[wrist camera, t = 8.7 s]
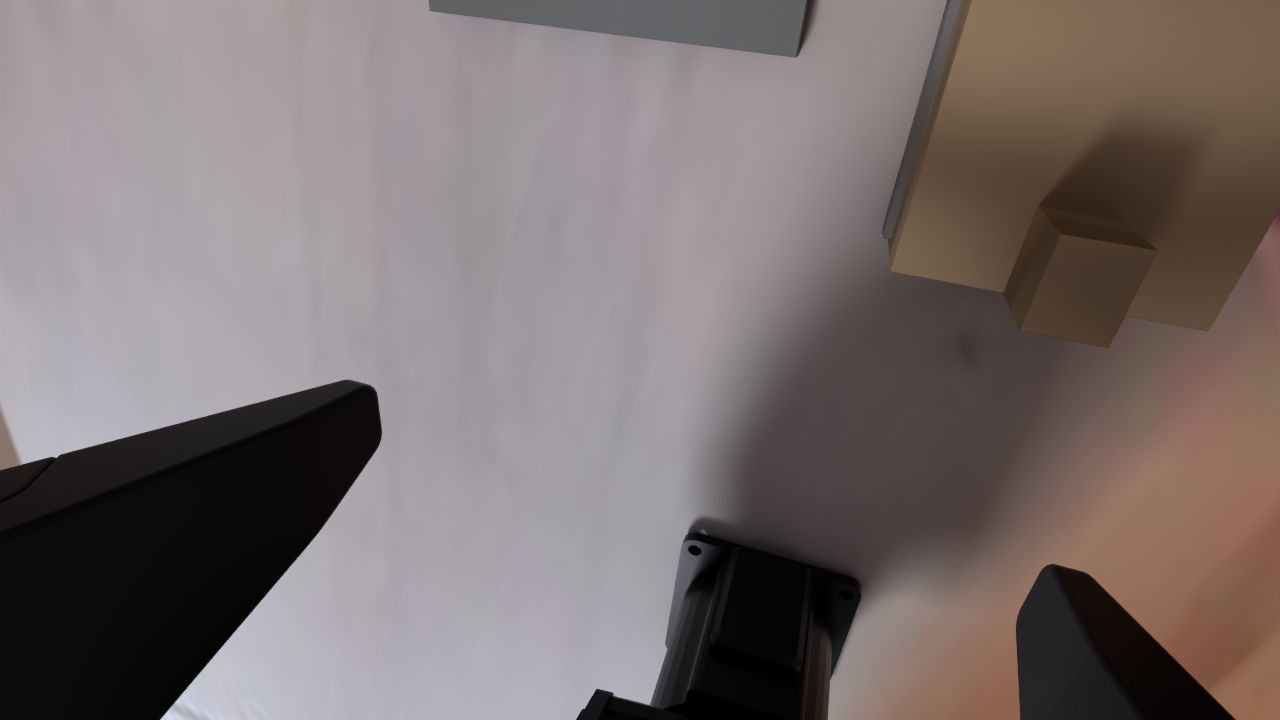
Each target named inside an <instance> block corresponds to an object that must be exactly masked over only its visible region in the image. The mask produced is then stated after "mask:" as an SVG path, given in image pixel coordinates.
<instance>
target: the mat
mask: <svg viewBox="0 0 1280 720" xmlns="http://www.w3.org/2000/svg"><path fill="white" fill-rule="evenodd" d="M808 2H809V0H429V6H430V11H434V12H442V13H450V14H457V15H465V16H473V17H481V18H489V19H497V20H505V21H512V22H520V23H528V24H536V25H544V26H552V27H560V28H568V29H575V30H583V31H591V32H599V33H607V34H615V35H623V36H631V37H638V38H646V39H654V40H662V41H670V42H678V43H686V44H693V45H701V46H709V47H717V48H725V49H733V50H741V51H749V52H756V53H764V54H772V55H780V56H788V57H797V56H798V54H799V48H800V43H801V38H802V33H803V28H804V22H805V17H806V12H807V7H808Z"/></svg>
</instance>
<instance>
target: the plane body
mask: <svg viewBox="0 0 1280 720" xmlns="http://www.w3.org/2000/svg"><path fill="white" fill-rule="evenodd" d="M1279 210H1280V0H947V4H946V7H945V11H944V14H943V18H942V21H941V25H940V28H939V32H938V35H937V39H936V42H935V46H934V49H933V53H932V56H931V60H930V63H929V67H928V70H927V74H926V77H925V81H924V84H923V88H922V91H921V95H920V99H919V102H918V106H917V109H916V113H915V116H914V120H913V123H912V127H911V130H910V134H909V137H908V141H907V144H906V148H905V151H904V155H903V158H902V162H901V165H900V169H899V172H898V176H897V179H896V183H895V186H894V190H893V193H892V197H891V200H890V204H889V207H888V211H887V214H886V218H885V221H884V225H883V228H882V230H883V238H886V239H888V243H889V258H890V271H891V272H896V273H901V274H907V275H912V276H917V277H923V278H928V279H933V280H938V281H944V282H949V283H954V284H960V285H965V286H970V287H975V288H981V289H986V290H991V291H997V292H1002V293H1004V296H1005V298H1006V300H1007V302H1008V305H1009V307H1010V309H1011V312H1012V314H1013V316H1014V318H1015V321H1016V323H1017V325H1018V327H1019V330H1020V331H1025V332H1030V333H1035V334H1040V335H1045V336H1050V337H1055V338H1060V339H1065V340H1070V341H1075V342H1080V343H1085V344H1090V345H1095V346H1100V347H1105V348H1109V346H1110V344H1111V342H1112V340H1113V338H1114V336H1115V334H1116V332H1117V330H1118V328H1119V326H1120V324H1121V322H1122V321H1123V319H1124V317H1125V316H1129V317H1134V318H1139V319H1145V320H1150V321H1155V322H1161V323H1166V324H1171V325H1177V326H1182V327H1187V328H1192V329H1198V330H1203V331H1209V329H1210V327H1211V325H1212V324H1213V322H1214V320H1215V319H1216V317H1217V315H1218V314H1219V312H1220V310H1221V308H1222V307H1223V305H1224V303H1225V302H1226V300H1227V298H1228V297H1229V295H1230V293H1231V291H1232V290H1233V288H1234V286H1235V285H1236V283H1237V281H1238V280H1239V278H1240V276H1241V274H1242V273H1243V271H1244V269H1245V268H1246V266H1247V264H1248V263H1249V261H1250V259H1251V257H1252V256H1253V254H1254V252H1255V251H1256V249H1257V247H1258V246H1259V244H1260V242H1261V241H1262V239H1263V237H1264V235H1265V234H1266V232H1267V230H1268V229H1269V227H1270V225H1271V224H1272V222H1273V220H1274V218H1275V217H1276V215H1277V213H1278V212H1279Z"/></svg>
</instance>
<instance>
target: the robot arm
mask: <svg viewBox="0 0 1280 720" xmlns="http://www.w3.org/2000/svg"><path fill="white" fill-rule="evenodd" d="M381 437H382V427H381V419H380V411H379V403H378V396H377V392H376V390H375V389H374V388H373V387H372V386H371V385H368V384H364V383H360V382H357V381H353V380H342V381H338V382H335V383H331V384H327V385H323V386H319V387H316V388H312V389H308V390H304V391H300V392H297V393H293V394H289V395H285V396H281V397H278V398H274V399H270V400H266V401H262V402H259V403H255V404H251V405H247V406H243V407H240V408H236V409H232V410H228V411H225V412H221V413H217V414H213V415H209V416H206V417H202V418H198V419H194V420H190V421H187V422H183V423H179V424H175V425H171V426H168V427H164V428H160V429H156V430H152V431H149V432H145V433H141V434H137V435H133V436H130V437H126V438H122V439H118V440H114V441H111V442H107V443H103V444H99V445H95V446H92V447H88V448H84V449H80V450H76V451H73V452H69V453H65V454H61V455H60V456H58V457H57V458H55V457H49V458H45V459H42V460H38V461H34V462H30V463H27V464H23V465H19V466H15V467H11V468H7V469H4V470H0V720H160V719H161V718H162V717H163V716H164V715H165V713H166V712H167V711H168V710H169V709H170V707H171V706H172V705H173V704H174V703H175V702H176V700H177V699H178V698H179V697H180V696H181V695H182V693H183V692H184V691H185V690H186V689H187V687H188V686H189V685H190V684H191V683H192V682H193V680H194V679H195V678H196V677H197V676H198V675H199V673H200V672H201V671H202V670H203V669H204V667H205V666H206V665H207V664H208V663H209V662H210V660H211V659H212V658H213V657H214V656H215V654H216V653H217V652H218V651H219V650H220V649H221V647H222V646H223V645H224V644H225V643H226V642H227V640H228V639H229V638H230V637H231V636H232V634H233V633H234V632H235V631H236V630H237V629H238V627H239V626H240V625H241V624H242V623H243V622H244V620H245V619H246V618H247V617H248V616H249V614H250V613H251V612H252V611H253V610H254V609H255V607H256V606H257V605H258V604H259V603H260V601H261V600H262V599H263V598H264V597H265V596H266V594H267V593H268V592H269V591H270V590H271V589H272V587H273V586H274V585H275V584H276V583H277V581H278V580H279V579H280V578H281V577H282V576H283V574H284V573H285V572H286V571H287V570H288V569H289V567H290V566H291V565H292V564H293V563H294V561H295V560H296V559H297V558H298V557H299V556H300V554H301V553H302V552H303V551H304V550H305V548H306V547H307V546H308V545H309V544H310V543H311V541H312V540H313V539H314V538H315V536H316V535H317V534H318V533H319V531H320V530H321V529H322V527H323V526H324V525H325V523H326V522H327V521H328V519H329V518H330V516H331V515H332V514H333V512H334V511H335V509H336V508H337V506H338V505H339V503H340V502H341V501H342V499H343V498H344V496H345V495H346V493H347V492H348V490H349V489H350V488H351V486H352V485H353V483H354V482H355V480H356V479H357V477H358V476H359V474H360V473H361V472H362V470H363V469H364V467H365V466H366V464H367V463H368V461H369V460H370V459H371V457H372V456H373V454H374V453H375V451H376V450H377V448H378V446H379V444H380V441H381ZM692 545H696V546H698V547H699V548H695V547H693V546H692ZM843 589H846V590H850V592H846V591H843ZM860 600H861V585H860V583H859V582H858V581H857V580H856V579H854V578H852V577H850V576H846V575H843V574H839V573H836V572H832V571H829V570H825V569H822V568H818V567H815V566H811V565H808V564H804V563H801V562H797V561H794V560H790V559H787V558H783V557H780V556H776V555H773V554H769V553H766V552H763V551H759V550H756V549H752V548H749V547H745V546H742V545H738V544H735V543H731V542H728V541H724V540H721V539H717V538H714V537H710V536H707V535H703V534H700V533H689V534H688V535H686V536H685V539H684V541H683V544H682V547H681V553H680V559H679V565H678V571H677V577H676V583H675V589H674V595H673V601H672V606H671V612H670V618H669V624H668V630H667V636H666V642H665V644H666V647H667V653H666V656H665V659H664V662H663V665H662V669H661V672H660V675H659V678H658V681H657V685H656V688H655V691H654V694H653V697H652V700H651V704H650V705H647V704H643V703H639V702H635V701H631V700H627V699H623V698H619V697H615V696H614V694H613V693H612V692H608V691H604V690H600V689H596V691H595V693H594V694H593V696H592V698H591V699H590V701H589V703H588V704H587V706H586V708H585V709H582V711H581V712H580V714H579V716H578V717H577V719H576V720H828V706H829V690H830V679H831V676H832V674H833V671H834V669H835V666H836V663H837V661H838V658H839V655H840V653H841V650H842V647H843V645H844V642H845V639H846V637H847V634H848V632H849V629H850V626H851V624H852V621H853V618H854V616H855V613H856V610H857V608H858V605H859V602H860ZM1016 641H1017V661H1018V681H1019V701H1020V720H1236V719H1235V718H1234V717H1233V716H1232V715H1231V714H1230V713H1229V712H1228V711H1227V710H1226V709H1225V708H1224V707H1223V706H1222V705H1221V704H1220V703H1219V702H1218V701H1217V700H1216V699H1215V698H1214V697H1213V696H1212V695H1211V694H1210V693H1209V692H1208V691H1207V690H1206V689H1204V688H1203V687H1202V686H1201V685H1200V684H1199V683H1198V682H1197V681H1196V680H1195V679H1194V678H1193V677H1192V676H1191V675H1190V674H1189V673H1188V672H1187V671H1186V670H1185V669H1184V668H1183V667H1182V666H1181V665H1180V664H1179V663H1178V662H1177V661H1176V660H1175V659H1174V658H1173V657H1172V656H1171V655H1170V654H1169V653H1168V652H1167V651H1166V650H1165V649H1164V648H1163V647H1162V646H1161V645H1160V644H1159V643H1158V642H1157V641H1156V640H1155V639H1154V638H1153V637H1152V636H1151V635H1150V634H1149V633H1148V632H1147V631H1146V630H1145V629H1144V628H1143V627H1142V626H1141V625H1140V624H1139V623H1138V622H1137V621H1136V620H1135V619H1134V618H1133V617H1132V616H1131V615H1130V614H1129V613H1128V612H1127V611H1126V610H1125V609H1124V608H1123V607H1122V606H1121V605H1120V604H1119V603H1118V602H1117V601H1116V600H1115V599H1114V598H1113V597H1112V596H1111V595H1110V594H1109V593H1108V592H1107V591H1106V590H1105V589H1104V588H1103V587H1102V586H1101V585H1100V584H1099V583H1098V582H1097V581H1096V580H1095V579H1094V578H1092V577H1091V576H1090V575H1089V574H1087V573H1085V572H1082V571H1079V570H1075V569H1071V568H1067V567H1064V566H1060V565H1056V564H1050V565H1047V566H1045V567H1044V568H1043V569H1042V570H1041V572H1040V573H1039V575H1038V577H1037V579H1036V581H1035V583H1034V584H1033V586H1032V588H1031V590H1030V592H1029V594H1028V596H1027V597H1026V599H1025V601H1024V603H1023V605H1022V607H1021V609H1020V611H1019V614H1018V617H1017V623H1016Z"/></svg>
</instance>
